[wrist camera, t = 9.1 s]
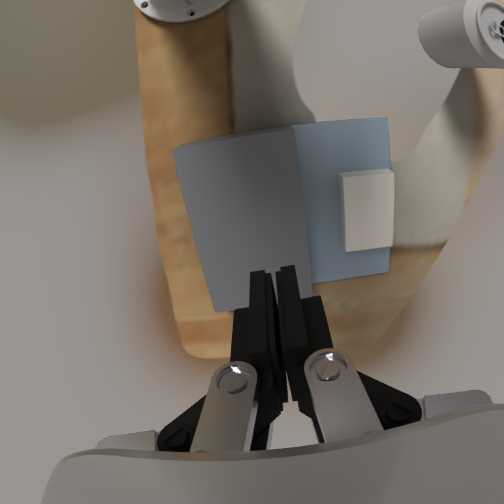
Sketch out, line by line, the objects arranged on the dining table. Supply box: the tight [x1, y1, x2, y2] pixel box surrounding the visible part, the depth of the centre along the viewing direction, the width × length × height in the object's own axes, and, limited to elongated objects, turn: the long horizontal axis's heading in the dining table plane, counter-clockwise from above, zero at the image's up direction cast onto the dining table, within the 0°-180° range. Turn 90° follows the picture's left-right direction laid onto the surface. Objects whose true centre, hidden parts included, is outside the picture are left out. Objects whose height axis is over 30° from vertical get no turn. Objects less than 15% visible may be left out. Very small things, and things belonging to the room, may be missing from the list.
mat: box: [291, 118, 391, 284], centre depth 35 cm, size 20×11×1 cm, turn 9°
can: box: [418, 0, 504, 69], centre depth 20 cm, size 8×8×12 cm
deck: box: [172, 125, 313, 312], centre depth 35 cm, size 20×12×4 cm, turn 10°
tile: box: [339, 169, 394, 252], centre depth 34 cm, size 9×6×2 cm, turn 9°
